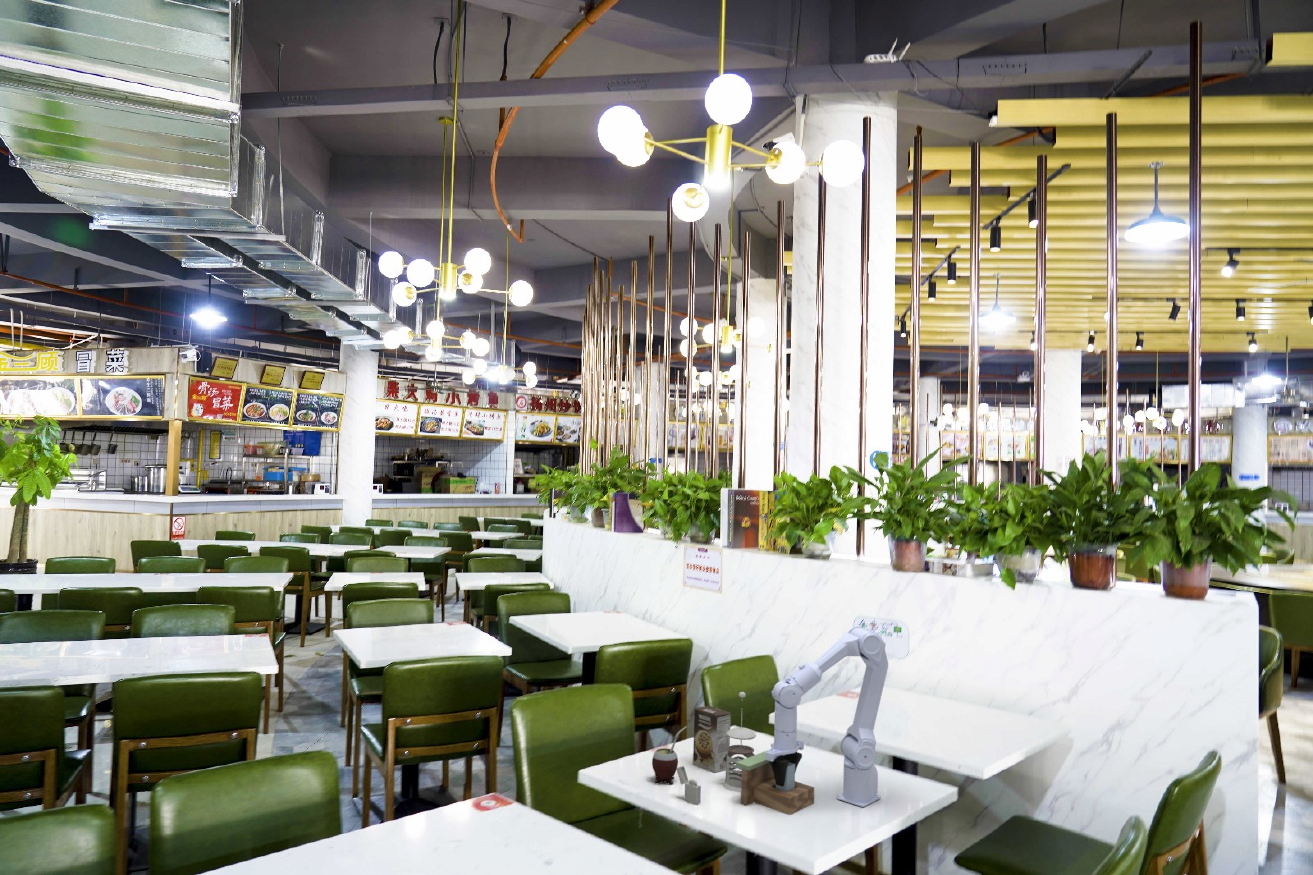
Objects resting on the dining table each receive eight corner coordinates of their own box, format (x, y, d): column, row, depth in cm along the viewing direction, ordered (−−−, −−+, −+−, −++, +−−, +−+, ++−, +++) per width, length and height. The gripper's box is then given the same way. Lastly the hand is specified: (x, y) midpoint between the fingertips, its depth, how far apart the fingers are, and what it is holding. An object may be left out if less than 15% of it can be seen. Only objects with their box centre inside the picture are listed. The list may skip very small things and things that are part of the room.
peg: (783, 788, 216) (783, 760, 216) (794, 791, 213) (795, 764, 214) (775, 791, 213) (776, 763, 214) (786, 795, 211) (787, 767, 211)
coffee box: (691, 764, 240) (693, 708, 241) (707, 760, 244) (708, 704, 245) (714, 773, 233) (716, 715, 234) (730, 768, 238) (731, 711, 239)
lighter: (700, 803, 211) (701, 771, 212) (696, 805, 210) (697, 772, 211) (679, 795, 216) (680, 764, 217) (675, 797, 215) (676, 765, 215)
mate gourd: (646, 779, 227) (648, 724, 228) (668, 774, 232) (670, 719, 233) (663, 788, 221) (665, 731, 222) (686, 782, 226) (687, 726, 227)
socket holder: (775, 784, 226) (776, 747, 226) (821, 799, 216) (822, 760, 217) (734, 801, 213) (735, 762, 213) (781, 818, 203) (782, 777, 203)
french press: (756, 793, 219) (758, 697, 220) (713, 789, 221) (715, 694, 223) (759, 780, 229) (761, 689, 230) (717, 776, 231) (720, 685, 232)
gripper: (788, 720, 222) (787, 772, 222) (756, 731, 212) (755, 786, 211) (810, 726, 217) (809, 779, 217) (779, 738, 207) (778, 793, 206)
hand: (784, 783), depth 214 cm, fingers closed on peg, 3 cm apart
